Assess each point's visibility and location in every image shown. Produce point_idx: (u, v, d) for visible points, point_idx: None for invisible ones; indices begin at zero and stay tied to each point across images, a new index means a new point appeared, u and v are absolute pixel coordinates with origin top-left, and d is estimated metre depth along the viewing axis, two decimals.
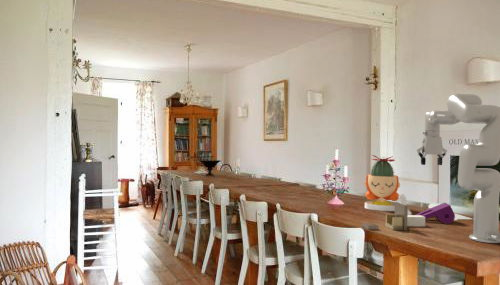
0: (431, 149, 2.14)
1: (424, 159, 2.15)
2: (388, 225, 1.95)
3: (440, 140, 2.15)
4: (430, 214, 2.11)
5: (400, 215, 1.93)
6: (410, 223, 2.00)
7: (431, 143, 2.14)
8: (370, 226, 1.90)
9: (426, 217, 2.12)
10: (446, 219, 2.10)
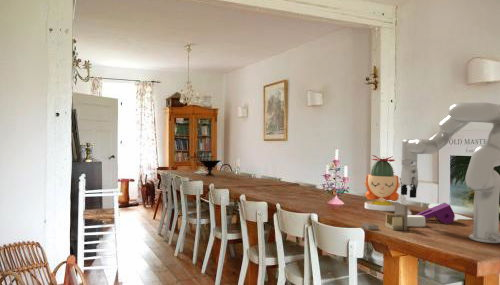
0: None
1: None
2: (388, 225, 1.95)
3: None
4: (430, 214, 2.11)
5: (400, 215, 1.93)
6: (410, 223, 2.00)
7: None
8: (370, 226, 1.90)
9: (426, 217, 2.12)
10: (446, 219, 2.10)
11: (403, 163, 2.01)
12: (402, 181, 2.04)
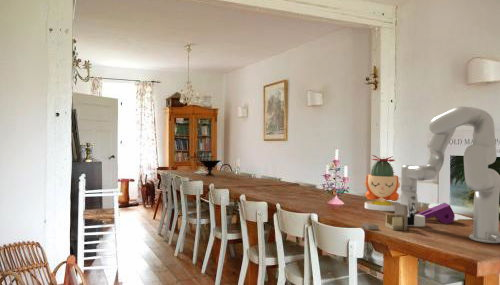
0: None
1: None
2: (388, 225, 1.95)
3: None
4: (430, 214, 2.11)
5: (400, 215, 1.93)
6: None
7: None
8: (370, 226, 1.90)
9: (426, 217, 2.11)
10: (446, 219, 2.09)
11: (403, 189, 2.01)
12: None
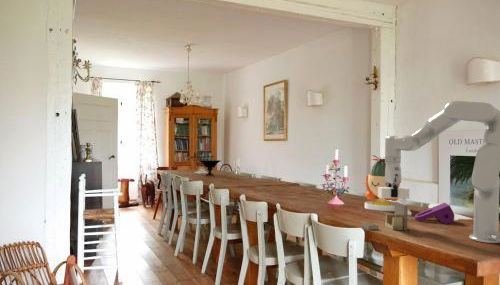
0: None
1: (397, 191, 1.94)
2: (388, 225, 1.95)
3: None
4: (429, 214, 2.11)
5: (400, 215, 1.93)
6: None
7: None
8: (370, 226, 1.90)
9: (425, 217, 2.11)
10: (446, 219, 2.09)
11: (386, 160, 1.96)
12: (386, 178, 1.99)
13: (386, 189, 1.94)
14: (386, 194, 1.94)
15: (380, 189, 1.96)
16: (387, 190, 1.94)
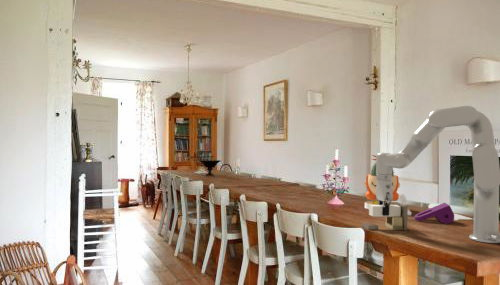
0: None
1: None
2: (388, 225, 1.95)
3: None
4: (429, 214, 2.11)
5: None
6: None
7: None
8: (370, 226, 1.90)
9: (425, 217, 2.11)
10: (445, 219, 2.09)
11: (377, 178, 1.93)
12: (377, 196, 1.96)
13: (377, 207, 1.91)
14: (377, 212, 1.91)
15: (371, 207, 1.93)
16: (379, 208, 1.91)
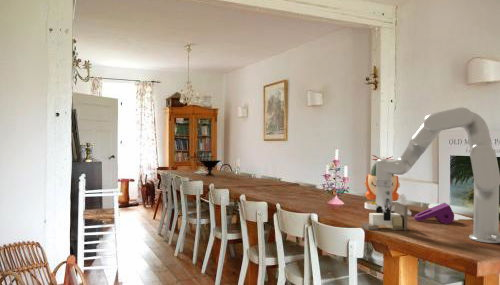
0: None
1: (390, 214, 1.89)
2: (388, 225, 1.95)
3: None
4: (429, 214, 2.11)
5: None
6: (385, 222, 1.91)
7: None
8: (370, 226, 1.90)
9: (425, 217, 2.11)
10: (445, 219, 2.09)
11: (377, 184, 1.93)
12: (377, 202, 1.96)
13: (377, 216, 1.91)
14: (377, 221, 1.91)
15: (371, 215, 1.93)
16: (379, 216, 1.91)
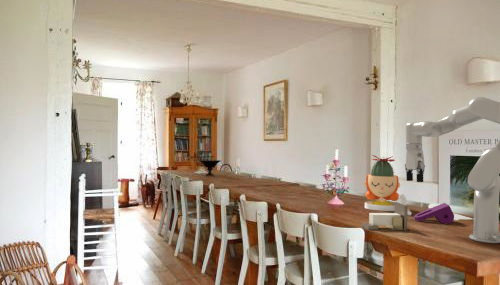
0: None
1: None
2: (388, 225, 1.95)
3: None
4: (429, 214, 2.11)
5: None
6: (385, 222, 1.91)
7: None
8: (370, 226, 1.90)
9: (425, 217, 2.11)
10: (445, 219, 2.09)
11: (408, 147, 1.95)
12: (408, 166, 1.98)
13: (377, 216, 1.91)
14: (377, 221, 1.91)
15: (371, 215, 1.93)
16: (379, 216, 1.91)
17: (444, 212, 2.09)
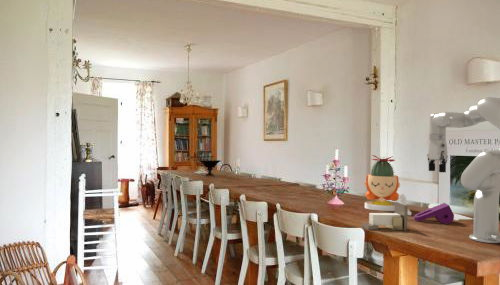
0: None
1: (445, 166, 1.93)
2: (388, 225, 1.95)
3: None
4: (429, 214, 2.10)
5: None
6: (385, 222, 1.91)
7: None
8: (370, 226, 1.90)
9: (425, 217, 2.11)
10: (445, 219, 2.09)
11: (431, 138, 1.97)
12: (430, 156, 2.00)
13: (377, 216, 1.91)
14: (377, 221, 1.91)
15: (371, 215, 1.93)
16: (379, 216, 1.91)
17: (444, 212, 2.09)
